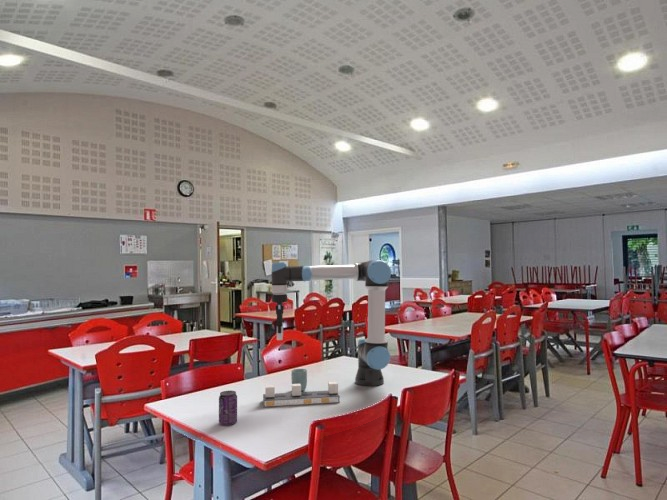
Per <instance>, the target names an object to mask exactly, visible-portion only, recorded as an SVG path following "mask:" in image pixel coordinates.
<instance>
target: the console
mask: <svg viewBox="0 0 667 500" xmlns="http://www.w3.org/2000/svg"><path fill="white" fill-rule="evenodd" d="M262 397H263V398H262V399H263V401H262V405H263V407H262V408H272V407H273V408H275V407H292V406H308V405H322V404H324V405H325V404H339V403H340V394H339V392H338V393H334V394H329V392H328V390H315V391H313V390H312V391H301V395H299V396H292V392H279V393H278V392H277V393H276V392H275V397H266V396H265V393H264V394H262Z"/></svg>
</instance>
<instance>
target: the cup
mask: <svg viewBox="0 0 667 500" xmlns="http://www.w3.org/2000/svg"><path fill="white" fill-rule="evenodd" d="M307 370H308V369H306V368H295V369H294V368H293V369H292V370H291V374H290V375H291V385H292V384H301V392H305V390H306V389H307V385H308V371H307Z"/></svg>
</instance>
